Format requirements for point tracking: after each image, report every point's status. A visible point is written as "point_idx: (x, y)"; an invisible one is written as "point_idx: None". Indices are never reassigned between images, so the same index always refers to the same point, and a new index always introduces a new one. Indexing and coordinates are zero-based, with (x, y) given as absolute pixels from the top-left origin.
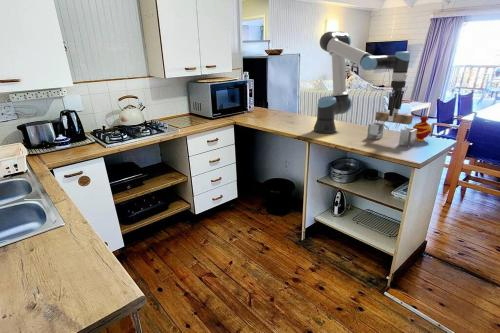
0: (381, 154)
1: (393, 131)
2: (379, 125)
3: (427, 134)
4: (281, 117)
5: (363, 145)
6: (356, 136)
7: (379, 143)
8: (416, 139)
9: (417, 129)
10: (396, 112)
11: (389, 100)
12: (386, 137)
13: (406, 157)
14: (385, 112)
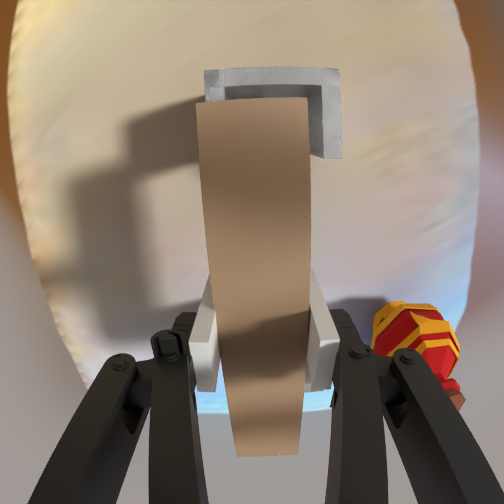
0: (53, 302)
1: (475, 149)
2: (317, 122)
3: None
4: None
5: (74, 179)
6: (200, 31)
7: (169, 212)
8: (382, 313)
9: (319, 390)
10: (308, 353)
11: (55, 468)
12: (330, 173)
13: None
14: (262, 227)
